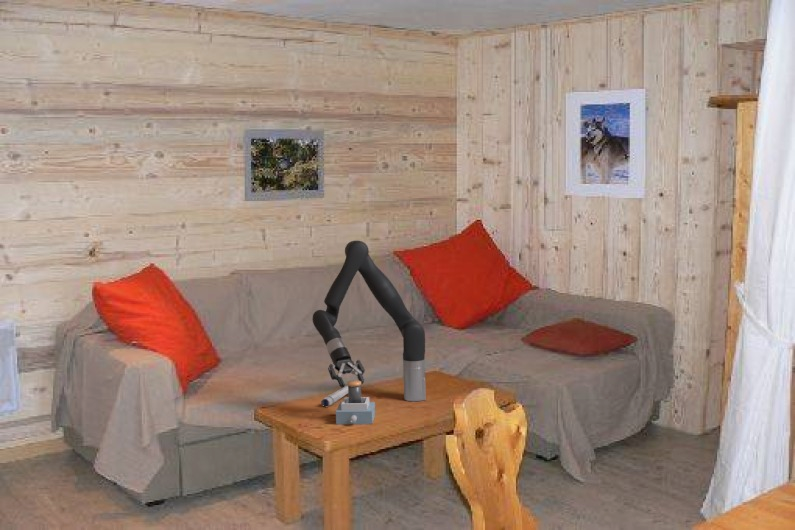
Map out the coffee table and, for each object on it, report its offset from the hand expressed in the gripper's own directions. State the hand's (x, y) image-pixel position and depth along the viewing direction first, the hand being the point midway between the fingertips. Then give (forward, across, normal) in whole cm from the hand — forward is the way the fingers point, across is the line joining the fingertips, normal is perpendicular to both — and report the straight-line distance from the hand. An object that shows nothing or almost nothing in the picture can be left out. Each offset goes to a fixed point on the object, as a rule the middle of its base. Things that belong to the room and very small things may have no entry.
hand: (353, 384), depth 352 cm
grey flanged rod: (-10, +9, +30) cm, 32 cm away
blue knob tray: (+12, -1, +8) cm, 14 cm away
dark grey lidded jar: (+7, 0, +5) cm, 9 cm away
